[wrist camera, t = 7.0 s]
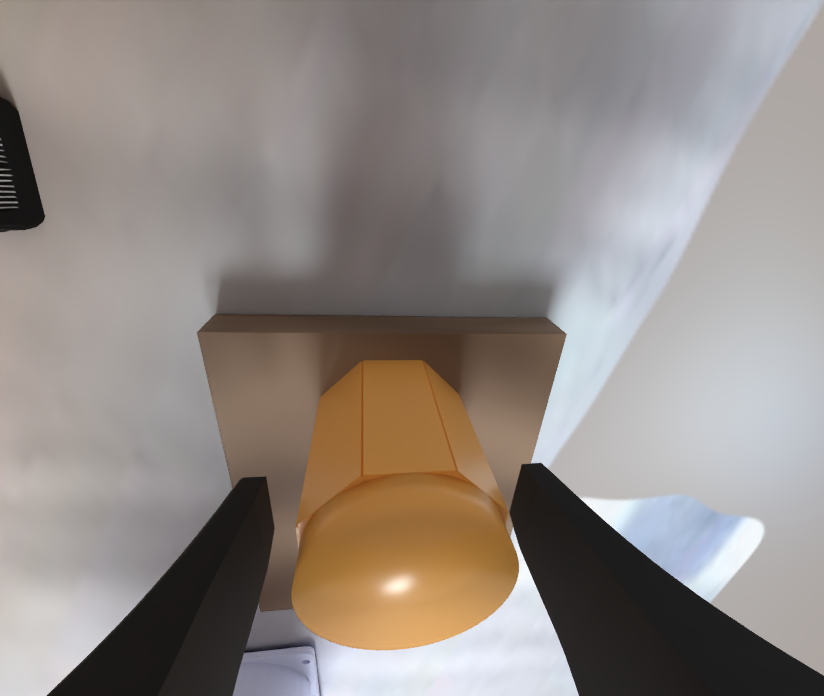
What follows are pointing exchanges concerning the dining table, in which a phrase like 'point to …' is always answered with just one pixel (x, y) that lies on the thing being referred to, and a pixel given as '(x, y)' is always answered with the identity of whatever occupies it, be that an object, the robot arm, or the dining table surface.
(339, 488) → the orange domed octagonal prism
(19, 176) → the electric trimmer
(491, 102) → the dining table surface
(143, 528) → the dining table surface
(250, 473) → the board
